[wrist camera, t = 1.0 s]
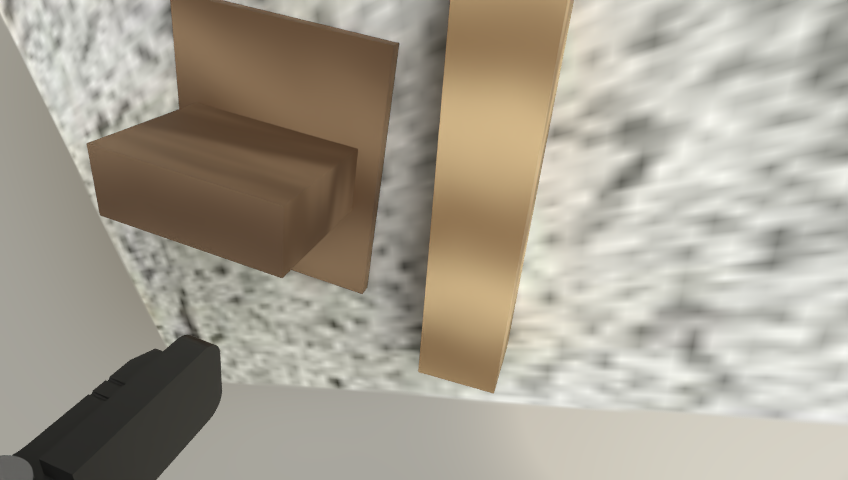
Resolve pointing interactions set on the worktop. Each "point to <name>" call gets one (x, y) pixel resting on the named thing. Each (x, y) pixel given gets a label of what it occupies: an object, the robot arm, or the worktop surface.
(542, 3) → the oak rod
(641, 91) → the worktop surface
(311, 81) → the walnut fulcrum
